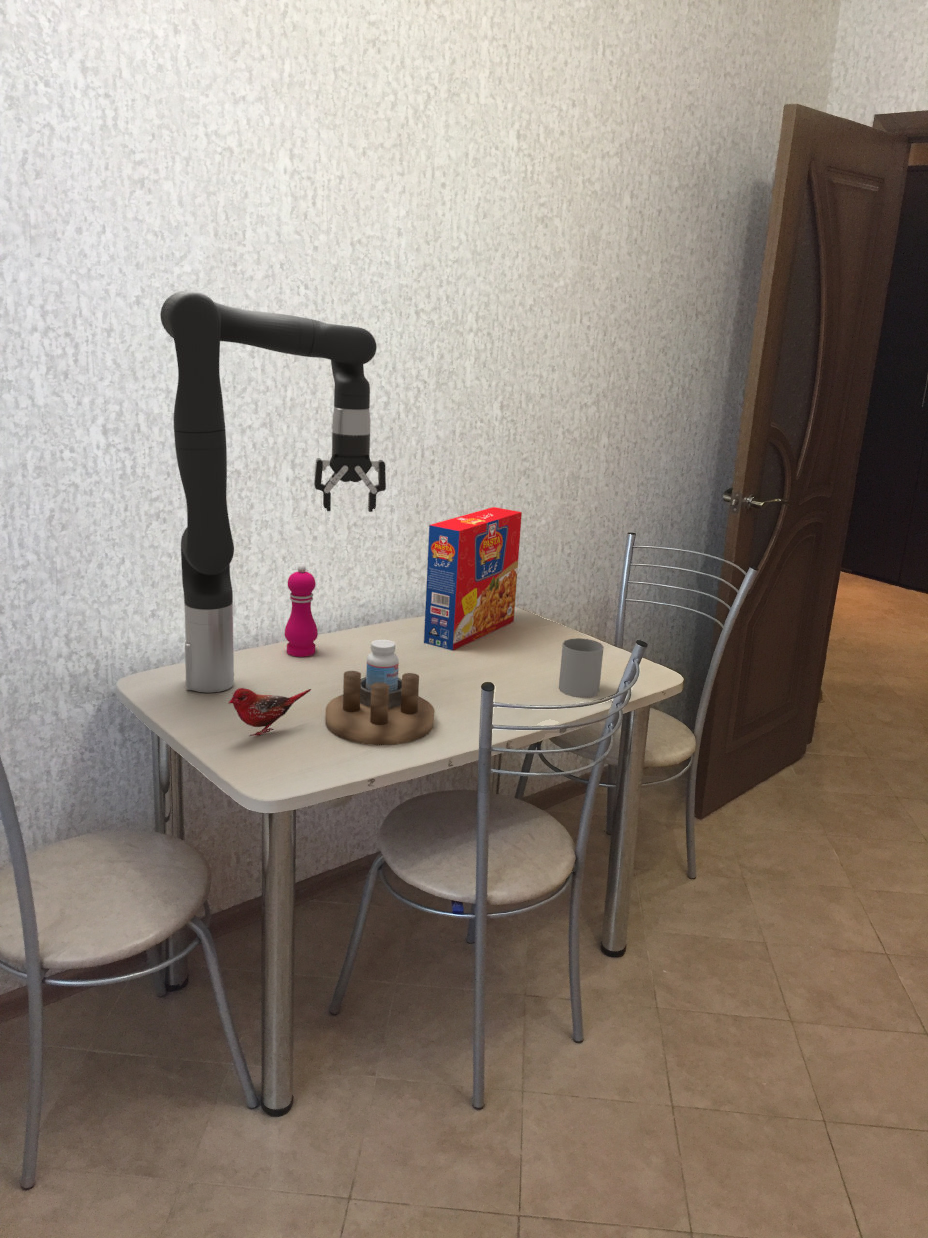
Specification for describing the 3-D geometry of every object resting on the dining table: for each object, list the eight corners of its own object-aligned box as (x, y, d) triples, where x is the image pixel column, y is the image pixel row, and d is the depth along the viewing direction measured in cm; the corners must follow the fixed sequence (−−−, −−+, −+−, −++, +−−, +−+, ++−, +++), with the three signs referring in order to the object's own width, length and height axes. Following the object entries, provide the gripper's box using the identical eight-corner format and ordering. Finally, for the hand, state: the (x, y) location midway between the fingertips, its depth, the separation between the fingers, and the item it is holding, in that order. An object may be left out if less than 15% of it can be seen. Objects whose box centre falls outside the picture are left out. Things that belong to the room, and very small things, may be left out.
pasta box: (452, 650, 232) (459, 531, 223) (423, 643, 236) (429, 524, 227) (513, 621, 255) (521, 512, 246) (486, 615, 259) (493, 506, 250)
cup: (576, 679, 219) (580, 635, 216) (606, 691, 213) (611, 646, 210) (550, 688, 213) (554, 643, 210) (581, 700, 208) (585, 654, 204)
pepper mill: (324, 651, 227) (325, 564, 220) (302, 660, 221) (303, 571, 214) (299, 644, 230) (300, 558, 224) (277, 652, 224) (277, 564, 218)
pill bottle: (392, 706, 193) (395, 650, 190) (361, 702, 194) (363, 646, 191) (400, 694, 199) (403, 640, 195) (370, 690, 200) (372, 636, 196)
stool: (330, 747, 180) (330, 697, 177) (321, 702, 199) (322, 657, 196) (443, 743, 185) (445, 694, 182) (424, 699, 204) (426, 654, 201)
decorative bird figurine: (224, 741, 180) (223, 689, 177) (306, 717, 192) (306, 667, 189) (233, 747, 178) (232, 694, 175) (315, 722, 190) (316, 672, 187)
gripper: (316, 432, 198) (315, 514, 203) (389, 434, 201) (386, 515, 206) (313, 427, 204) (313, 506, 209) (384, 429, 207) (381, 507, 213)
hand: (349, 510), depth 208 cm, fingers open, 8 cm apart
